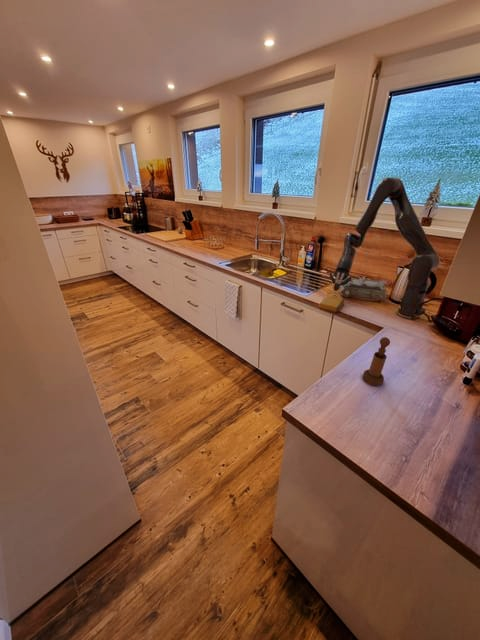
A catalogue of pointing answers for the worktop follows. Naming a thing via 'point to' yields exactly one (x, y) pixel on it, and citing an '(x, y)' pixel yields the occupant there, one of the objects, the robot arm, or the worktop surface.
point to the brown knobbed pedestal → (377, 365)
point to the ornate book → (364, 289)
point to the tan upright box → (331, 303)
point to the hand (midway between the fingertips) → (335, 290)
